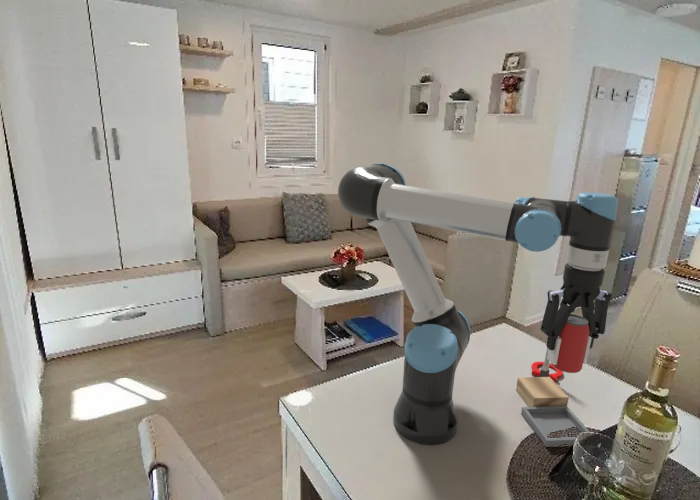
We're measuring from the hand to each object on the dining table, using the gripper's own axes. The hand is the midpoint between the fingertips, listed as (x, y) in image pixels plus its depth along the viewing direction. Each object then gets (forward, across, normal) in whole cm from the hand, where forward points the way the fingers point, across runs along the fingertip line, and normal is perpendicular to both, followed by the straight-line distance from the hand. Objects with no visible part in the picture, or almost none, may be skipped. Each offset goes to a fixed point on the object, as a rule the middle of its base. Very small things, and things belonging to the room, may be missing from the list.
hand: (566, 360), depth 95 cm
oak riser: (+18, +2, +10) cm, 21 cm away
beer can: (+2, 0, 0) cm, 2 cm away
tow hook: (+18, +12, +23) cm, 31 cm away
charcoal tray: (+18, 0, -1) cm, 18 cm away
